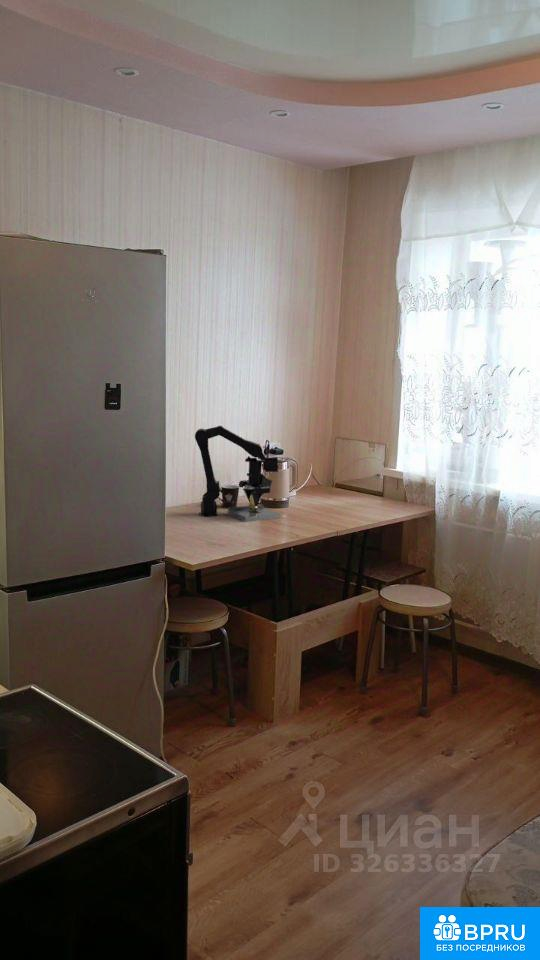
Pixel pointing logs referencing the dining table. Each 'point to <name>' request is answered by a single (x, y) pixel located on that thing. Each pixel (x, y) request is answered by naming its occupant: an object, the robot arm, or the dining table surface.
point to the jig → (252, 513)
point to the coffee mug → (229, 495)
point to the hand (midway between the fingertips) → (253, 505)
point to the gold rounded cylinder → (252, 504)
